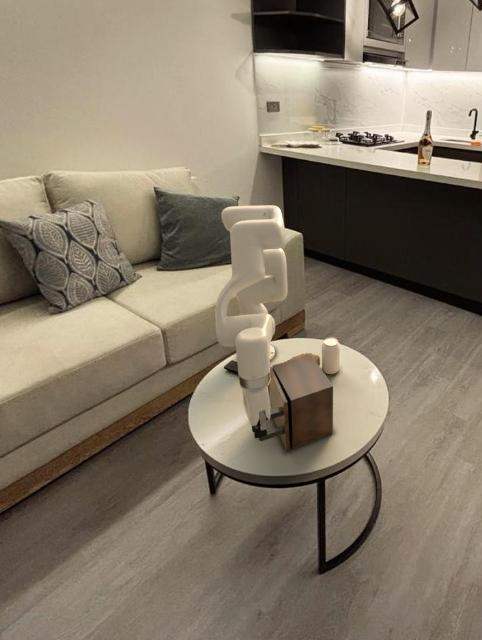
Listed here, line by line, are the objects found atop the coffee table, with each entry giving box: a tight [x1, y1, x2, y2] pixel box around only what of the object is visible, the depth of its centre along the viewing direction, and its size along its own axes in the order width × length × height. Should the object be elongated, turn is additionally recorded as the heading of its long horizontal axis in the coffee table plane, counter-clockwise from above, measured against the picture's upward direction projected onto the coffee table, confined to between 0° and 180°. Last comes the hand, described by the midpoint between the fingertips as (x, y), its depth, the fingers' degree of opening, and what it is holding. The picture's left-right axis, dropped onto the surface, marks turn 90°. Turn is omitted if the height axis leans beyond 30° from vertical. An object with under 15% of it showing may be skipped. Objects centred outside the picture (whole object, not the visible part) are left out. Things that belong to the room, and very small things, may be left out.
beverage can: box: [321, 336, 341, 375], centre depth 141 cm, size 6×6×12 cm
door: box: [257, 366, 291, 452], centre depth 113 cm, size 8×16×17 cm, turn 27°
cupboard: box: [271, 355, 334, 450], centre depth 118 cm, size 12×16×17 cm
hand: (259, 432), depth 107 cm, fingers closed on door
